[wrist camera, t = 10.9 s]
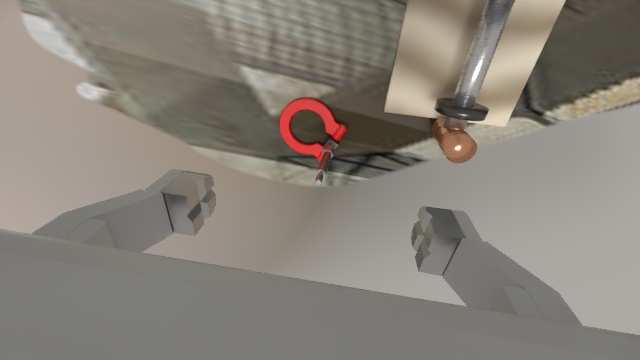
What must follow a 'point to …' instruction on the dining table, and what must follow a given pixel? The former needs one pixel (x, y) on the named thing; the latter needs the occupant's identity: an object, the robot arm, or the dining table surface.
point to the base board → (465, 55)
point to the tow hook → (317, 149)
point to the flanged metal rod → (470, 86)
